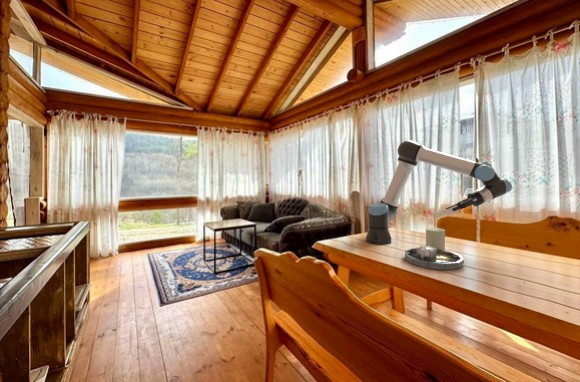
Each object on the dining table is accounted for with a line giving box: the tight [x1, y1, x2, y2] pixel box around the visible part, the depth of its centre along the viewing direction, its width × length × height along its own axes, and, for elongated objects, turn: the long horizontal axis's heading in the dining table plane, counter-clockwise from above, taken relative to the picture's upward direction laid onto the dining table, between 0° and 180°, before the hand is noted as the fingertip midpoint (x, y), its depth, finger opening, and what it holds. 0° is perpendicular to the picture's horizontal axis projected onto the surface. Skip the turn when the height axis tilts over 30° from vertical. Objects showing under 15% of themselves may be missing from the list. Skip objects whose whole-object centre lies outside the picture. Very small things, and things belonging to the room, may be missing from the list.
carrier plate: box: [404, 245, 465, 271], centre depth 123 cm, size 24×24×7 cm
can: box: [425, 227, 446, 250], centre depth 139 cm, size 9×9×12 cm
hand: (440, 214), depth 137 cm, fingers open, 13 cm apart
